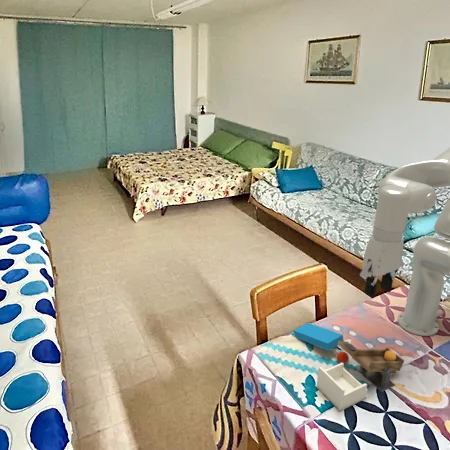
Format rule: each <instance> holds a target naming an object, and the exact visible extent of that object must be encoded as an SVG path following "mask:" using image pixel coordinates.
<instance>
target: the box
mask: <svg viewBox="0 0 450 450" xmlns="http://www.w3.org/2000/svg"><path fill="white" fill-rule="evenodd" d="M344 365H345V364H343V363H340V362H339V363H338V364H336V365H333V366H331V367H328V368H326V369H324V368H323V367H322V366H319V367H318V371H317V380H316V388H317V389H318V391H320V393H322V394H323V396H325V398H326V399H327V400H328V401H329V402H330V403H331V404H333V406H334V407H335V408H336V409H337V410H338V411H339V412H341V411H344V410H345V409H347V408H350V407H351V406H354V405H355V404H357V403H360V402H362V401H363V400H365V399H367V396H368V389H369V388H367V387H368V384H367V383H361V382H360V381H359V380H357V379H356V377H354V376H353V375H352V374H351V373H350V372H349V371H347V369H346V368H345V367H344Z"/></svg>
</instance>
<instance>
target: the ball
mask: <svg viewBox="0 0 450 450" xmlns="http://www.w3.org/2000/svg"><path fill="white" fill-rule="evenodd" d="M396 355H397V354H396V352H394V351H393V350H391V351H386V352H385V354H384V358H385V360H386V361H395V360H396Z"/></svg>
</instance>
